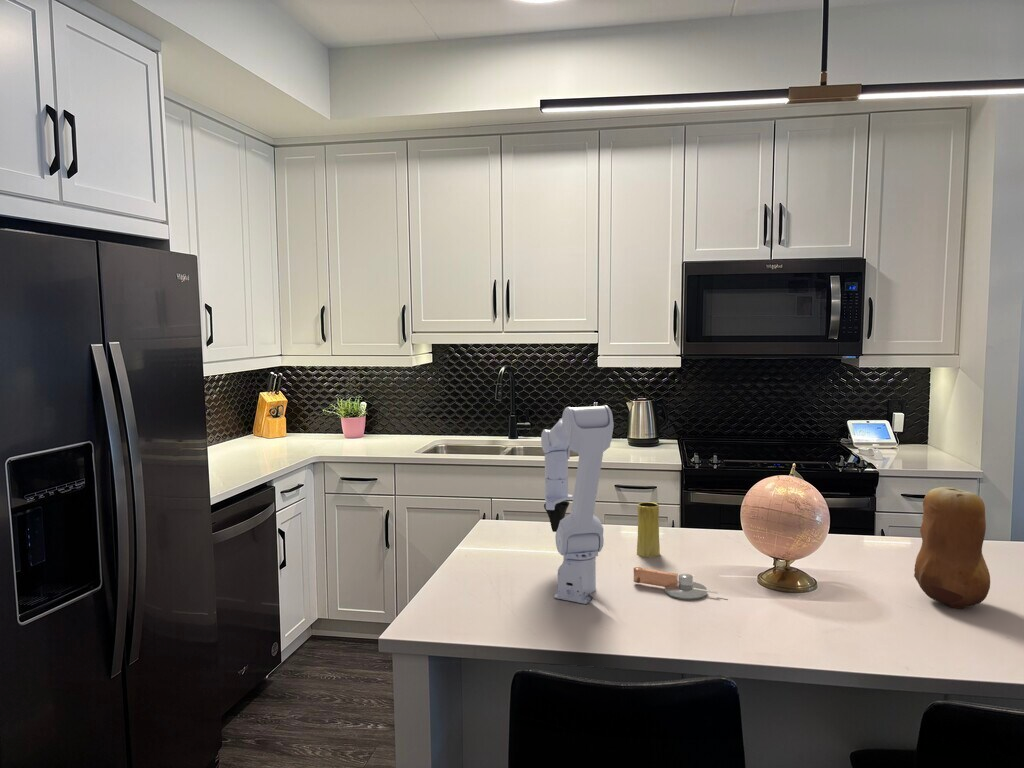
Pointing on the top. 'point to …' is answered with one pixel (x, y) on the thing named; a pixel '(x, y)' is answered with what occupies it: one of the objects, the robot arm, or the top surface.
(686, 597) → the pizza cutter
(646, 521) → the vase
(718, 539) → the top surface
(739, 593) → the top surface
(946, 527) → the butternut squash
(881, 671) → the top surface
